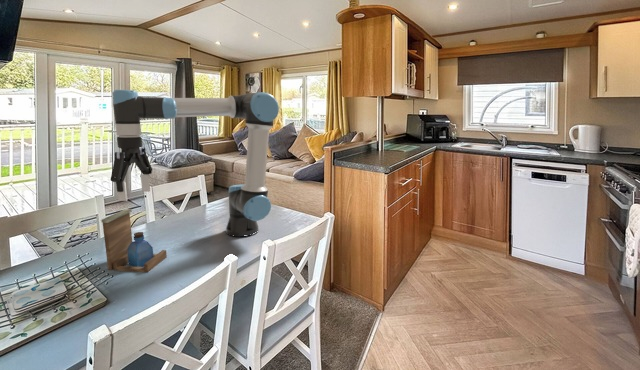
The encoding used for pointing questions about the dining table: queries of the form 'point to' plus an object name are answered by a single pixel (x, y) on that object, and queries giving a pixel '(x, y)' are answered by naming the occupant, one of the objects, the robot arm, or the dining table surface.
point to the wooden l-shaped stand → (123, 243)
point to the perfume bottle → (139, 251)
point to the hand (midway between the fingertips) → (135, 195)
